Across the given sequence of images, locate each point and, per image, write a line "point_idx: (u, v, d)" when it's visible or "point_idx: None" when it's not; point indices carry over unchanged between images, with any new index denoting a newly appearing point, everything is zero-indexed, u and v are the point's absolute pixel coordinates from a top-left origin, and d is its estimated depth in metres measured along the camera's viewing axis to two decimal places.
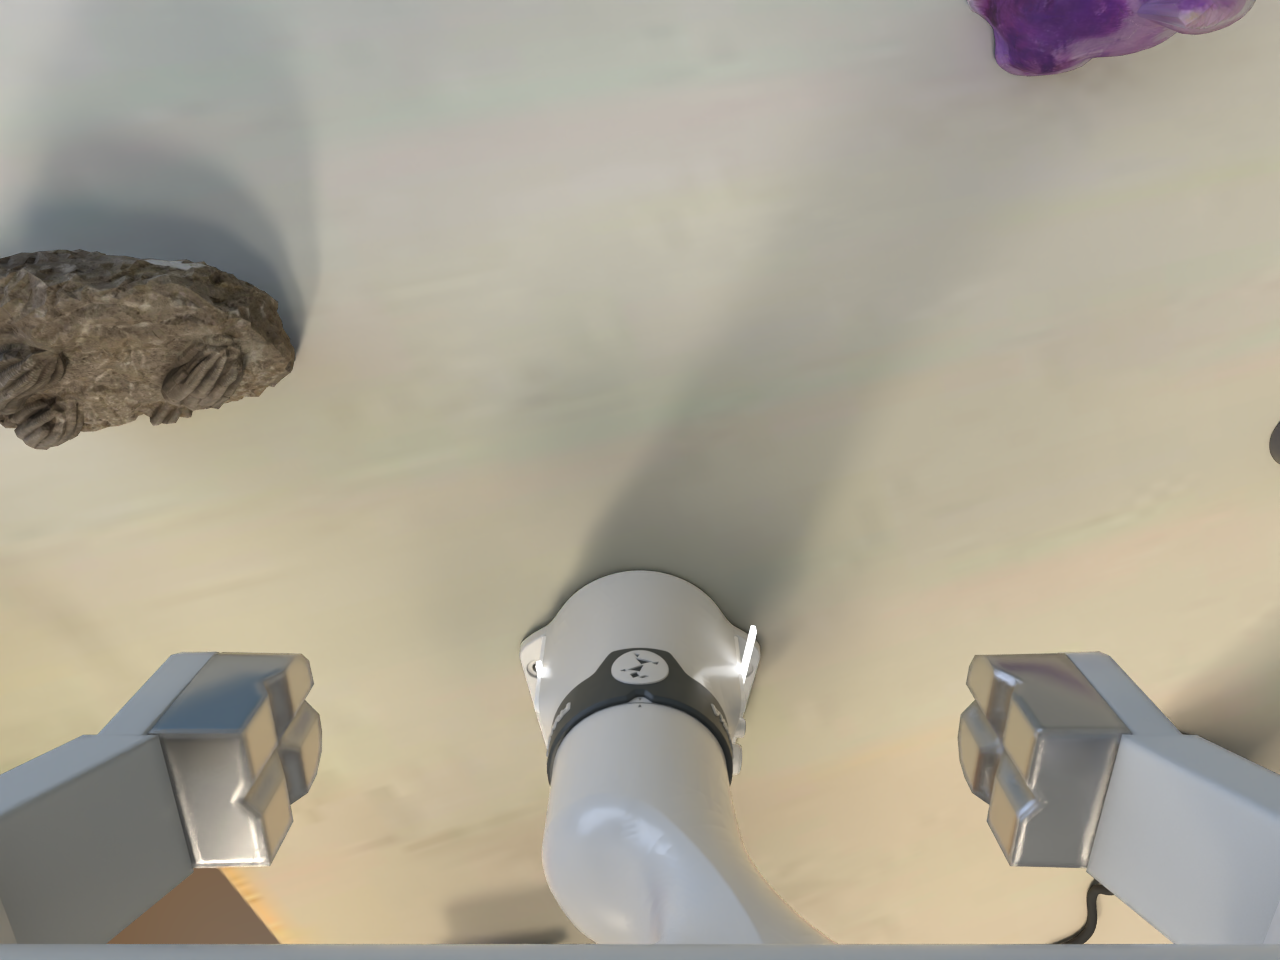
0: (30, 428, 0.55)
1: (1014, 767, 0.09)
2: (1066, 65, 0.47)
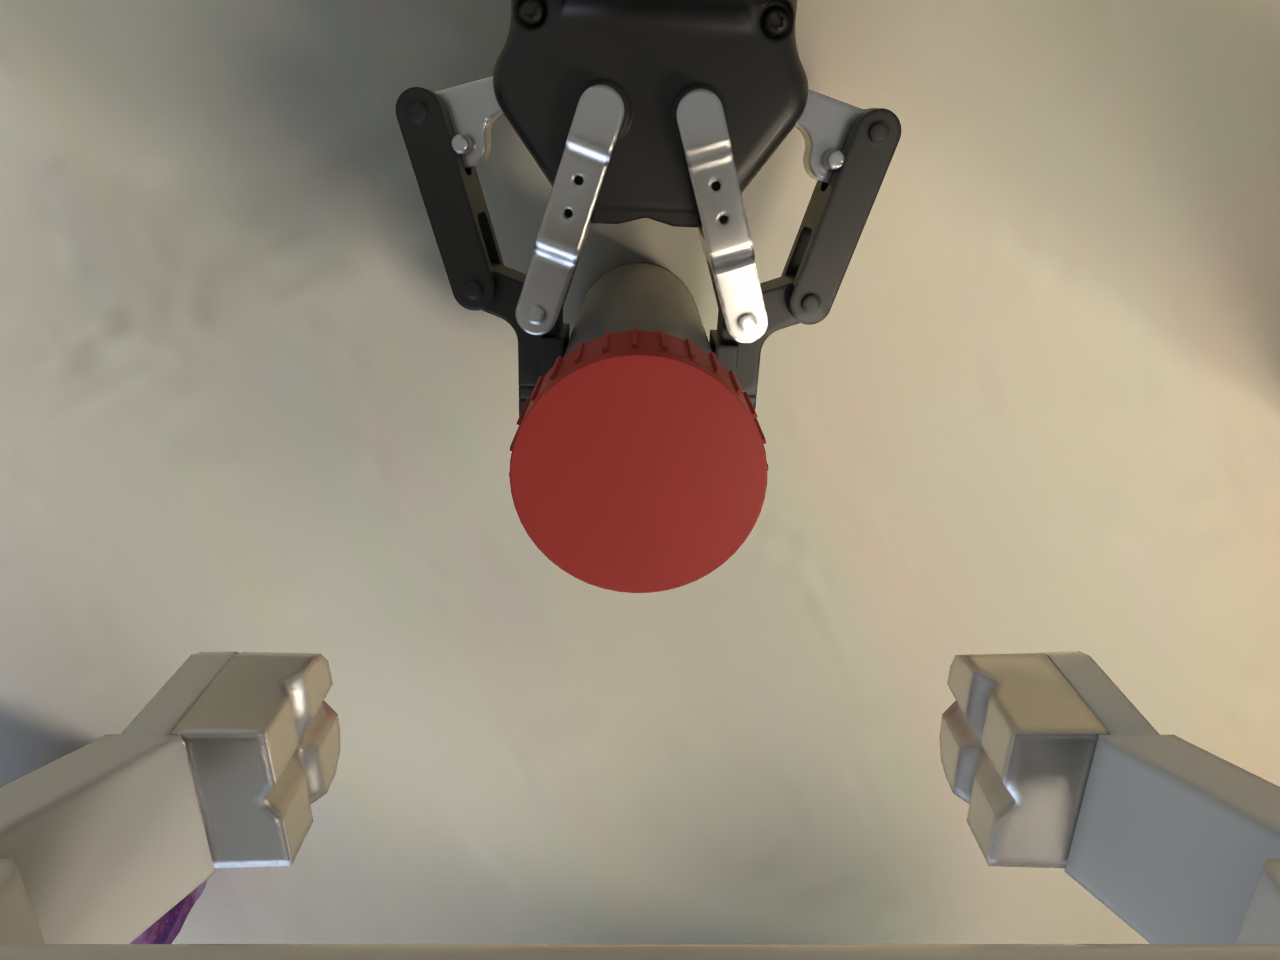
0: None
1: (993, 767, 0.09)
2: None
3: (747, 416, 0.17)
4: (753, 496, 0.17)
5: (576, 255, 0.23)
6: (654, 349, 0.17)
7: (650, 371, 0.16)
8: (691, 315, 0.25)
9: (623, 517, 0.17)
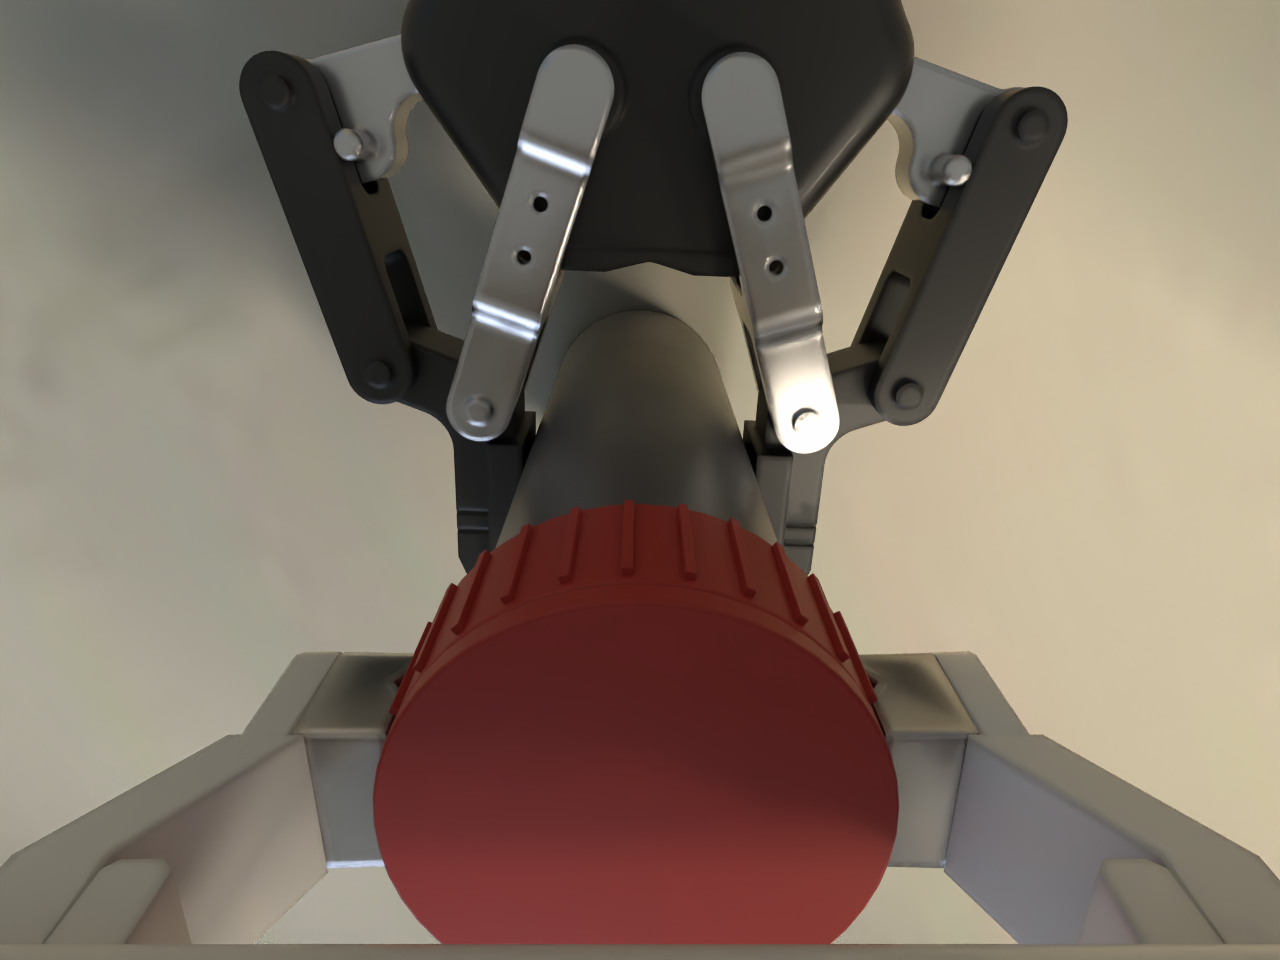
0: None
1: None
2: None
3: (864, 717, 0.08)
4: (868, 857, 0.09)
5: (538, 323, 0.14)
6: (669, 578, 0.08)
7: (661, 635, 0.08)
8: (719, 408, 0.16)
9: (605, 892, 0.09)
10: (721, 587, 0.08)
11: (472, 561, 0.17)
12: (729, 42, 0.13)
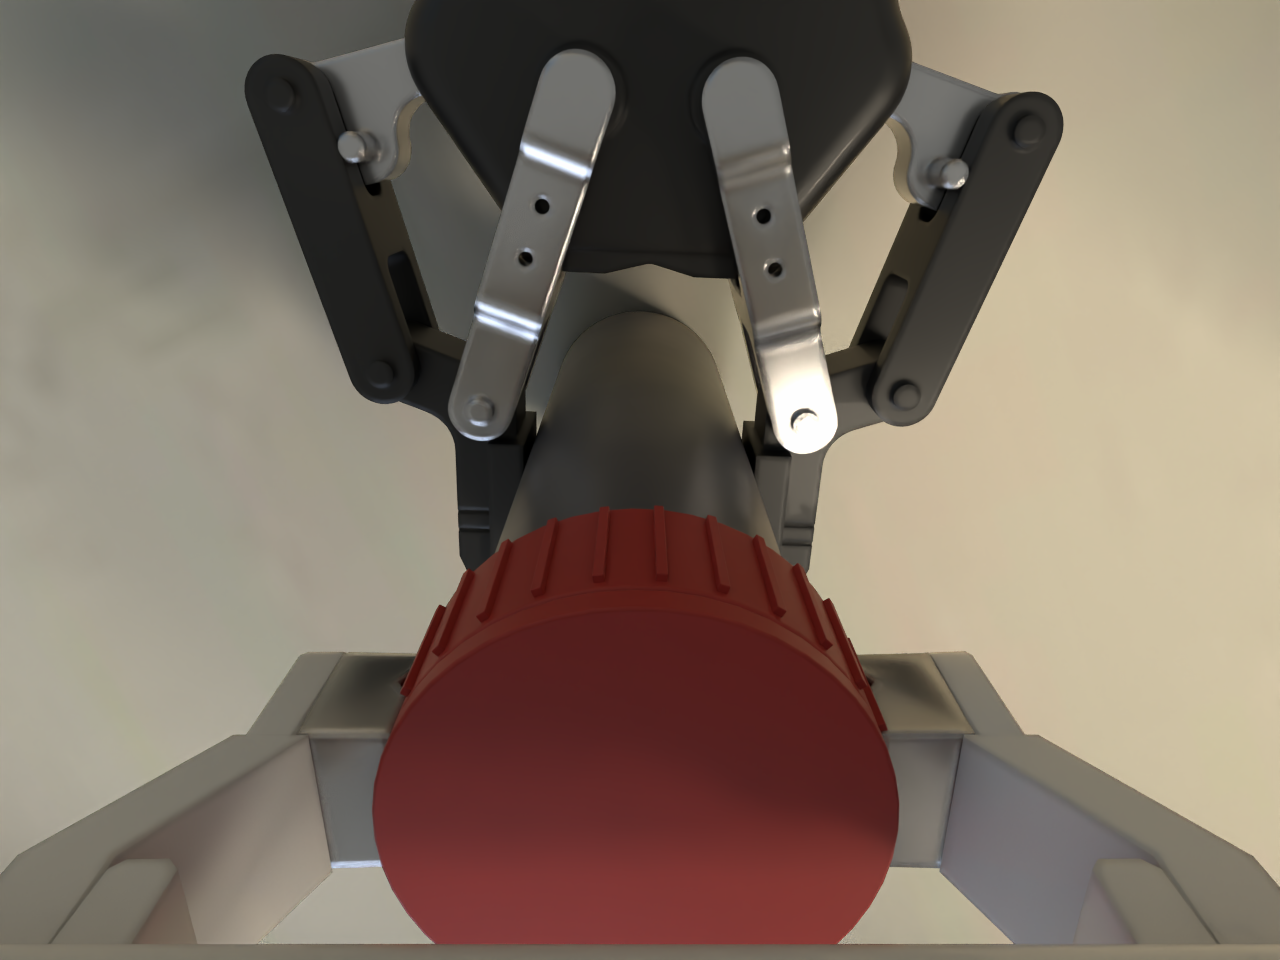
0: None
1: None
2: None
3: (575, 617, 0.07)
4: (760, 657, 0.08)
5: (539, 324, 0.15)
6: (401, 708, 0.08)
7: (419, 755, 0.08)
8: (718, 408, 0.16)
9: (700, 880, 0.09)
10: (425, 671, 0.08)
11: (473, 560, 0.17)
12: (729, 47, 0.13)
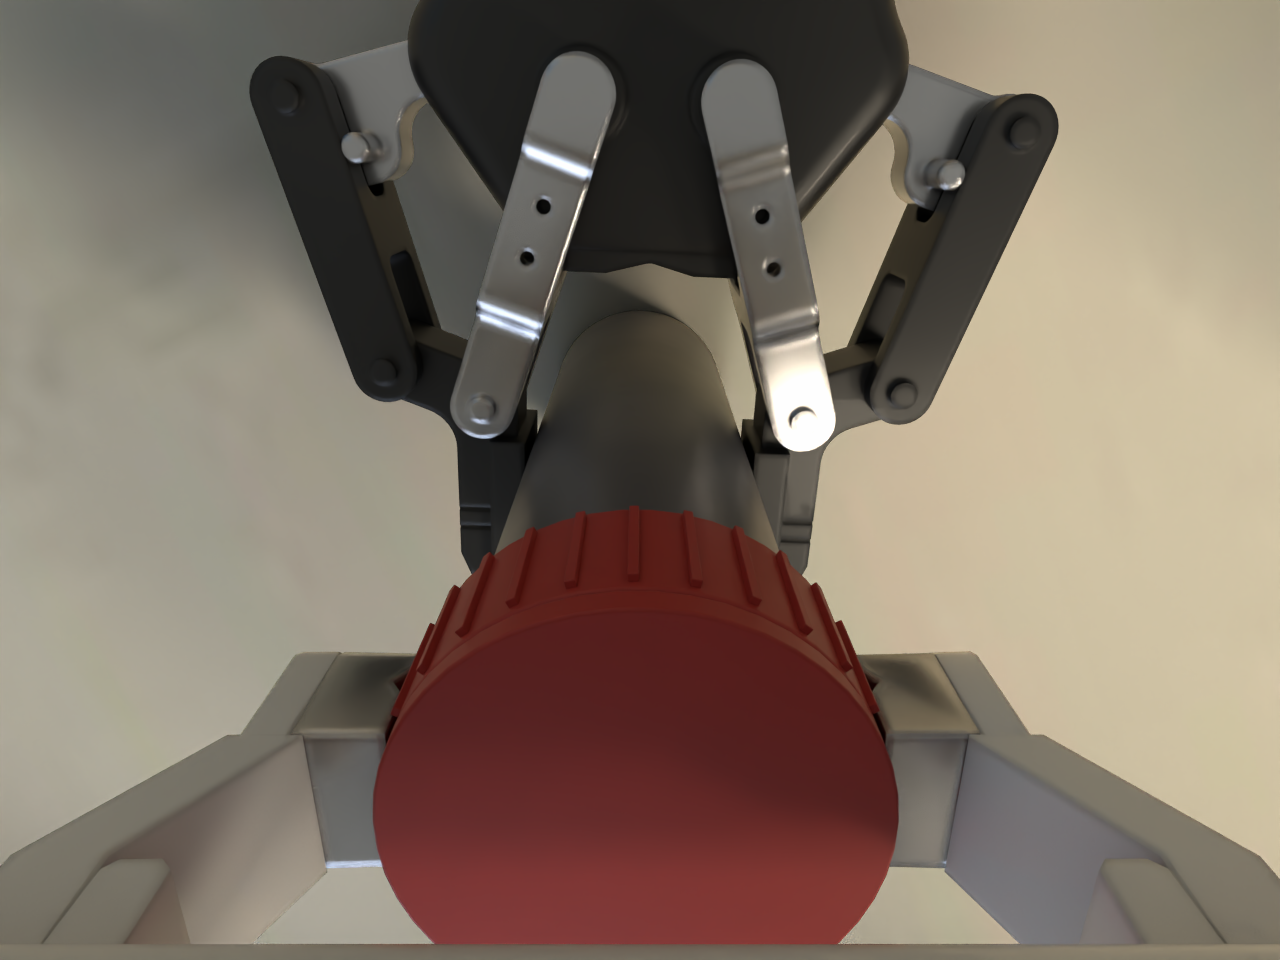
0: None
1: None
2: None
3: (379, 807, 0.08)
4: (462, 687, 0.08)
5: (541, 323, 0.15)
6: None
7: None
8: (717, 407, 0.17)
9: (713, 804, 0.08)
10: None
11: (474, 556, 0.18)
12: (728, 49, 0.14)
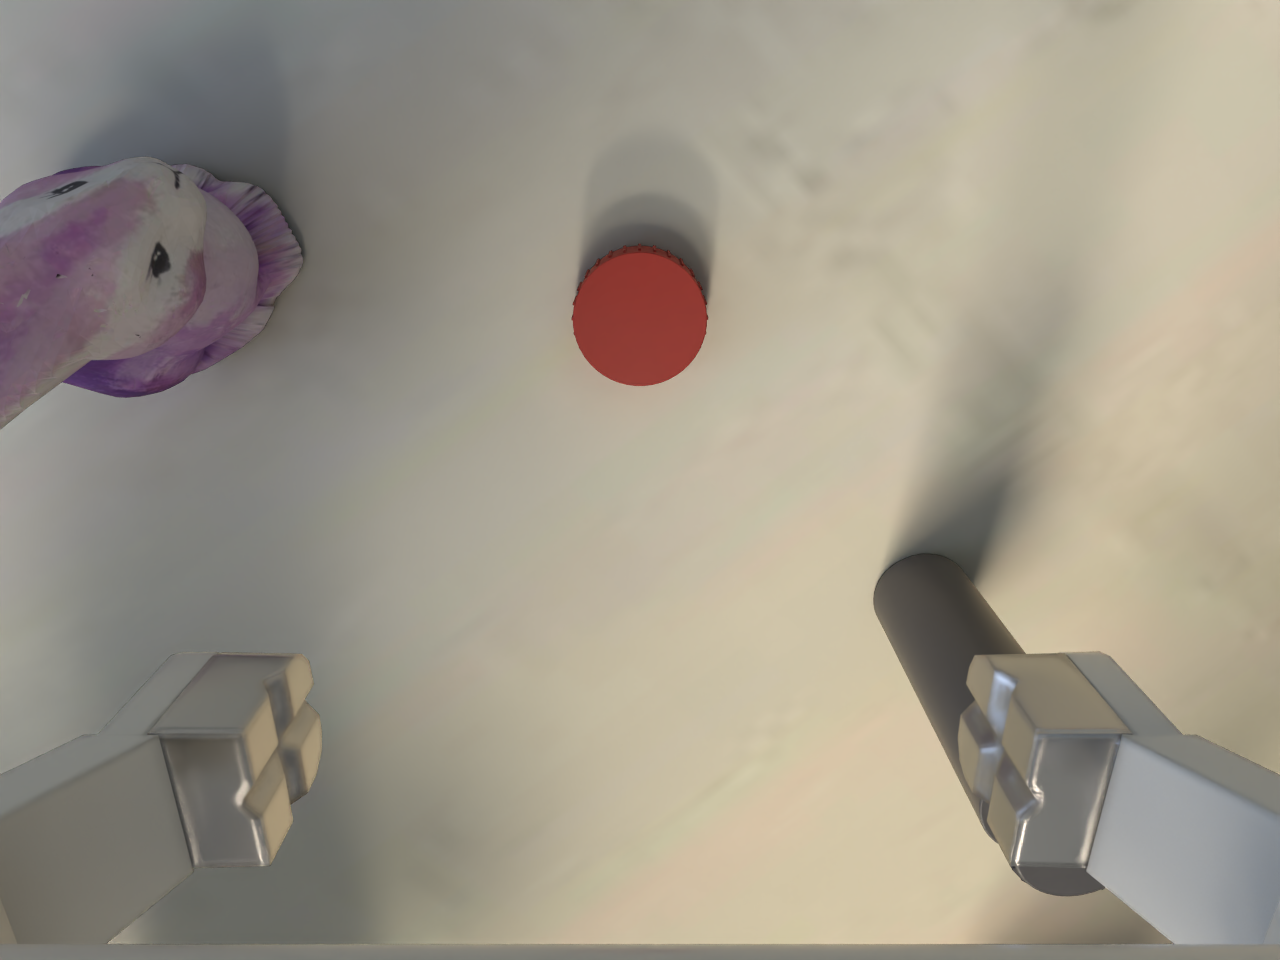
0: None
1: (1014, 767, 0.09)
2: (163, 382, 0.31)
3: (575, 311, 0.33)
4: (598, 274, 0.32)
5: None
6: None
7: (598, 361, 0.33)
8: None
9: (659, 310, 0.33)
10: None
11: None
12: None
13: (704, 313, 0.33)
